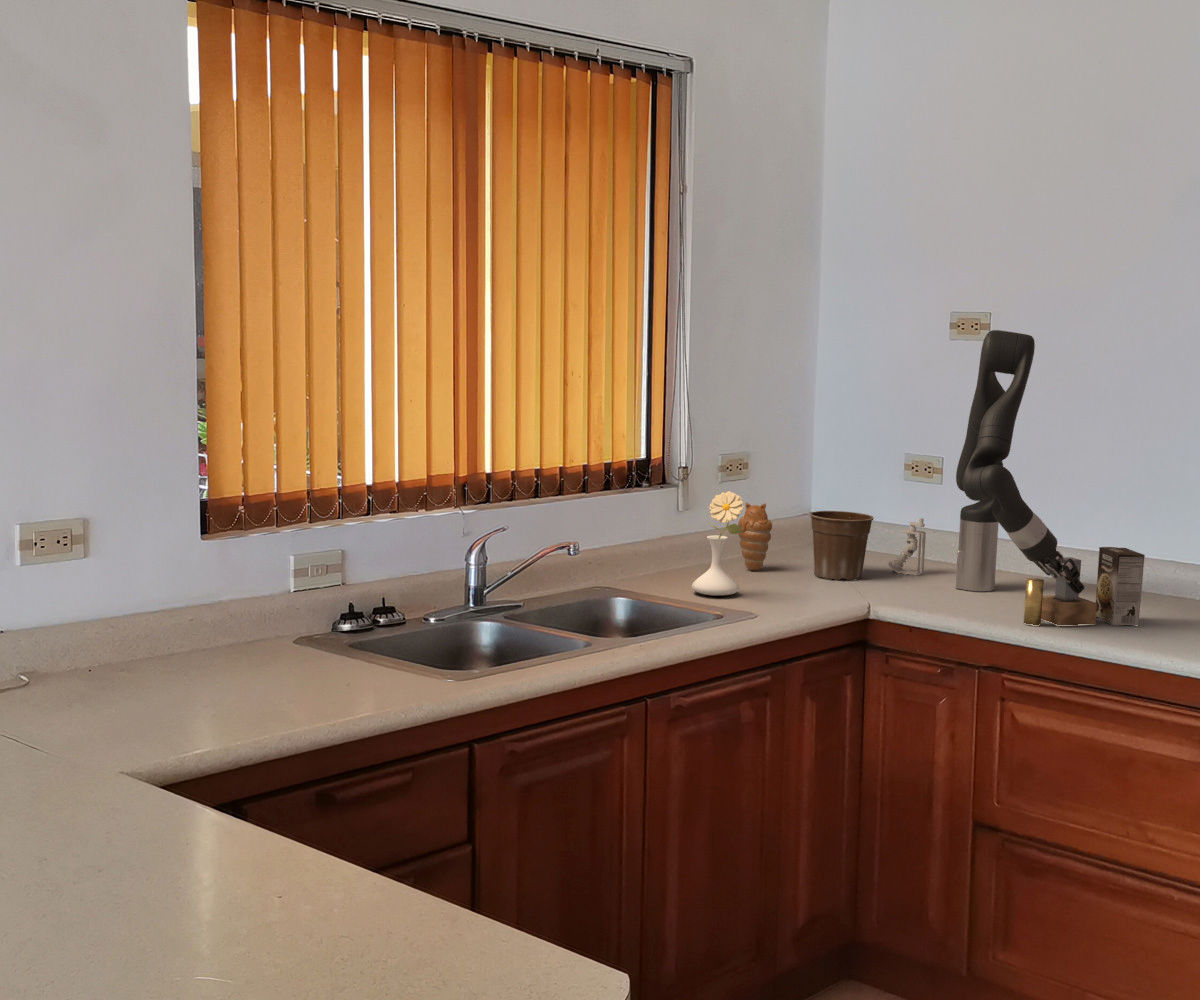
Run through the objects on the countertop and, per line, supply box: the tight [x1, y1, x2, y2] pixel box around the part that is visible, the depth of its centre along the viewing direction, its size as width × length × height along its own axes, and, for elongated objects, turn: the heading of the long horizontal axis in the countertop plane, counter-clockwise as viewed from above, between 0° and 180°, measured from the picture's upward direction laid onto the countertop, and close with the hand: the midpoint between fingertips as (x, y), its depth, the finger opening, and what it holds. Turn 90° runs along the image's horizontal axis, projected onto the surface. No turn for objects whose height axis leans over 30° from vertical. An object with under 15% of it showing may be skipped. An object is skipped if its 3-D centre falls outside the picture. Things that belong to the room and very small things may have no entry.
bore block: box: [1041, 594, 1097, 625], centre depth 292 cm, size 9×9×5 cm
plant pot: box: [809, 510, 875, 581], centre depth 339 cm, size 16×16×16 cm
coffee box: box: [1095, 546, 1146, 626], centre depth 293 cm, size 9×6×16 cm
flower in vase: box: [691, 490, 745, 597], centre depth 311 cm, size 13×11×25 cm
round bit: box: [1023, 577, 1045, 625], centre depth 288 cm, size 4×4×10 cm
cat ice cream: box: [737, 502, 773, 572], centre depth 344 cm, size 9×8×18 cm
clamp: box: [887, 517, 927, 576], centre depth 347 cm, size 4×10×15 cm, turn 54°
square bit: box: [1054, 556, 1082, 602], centre depth 291 cm, size 4×4×12 cm
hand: (1075, 588), depth 292 cm, fingers closed on square bit, 3 cm apart
